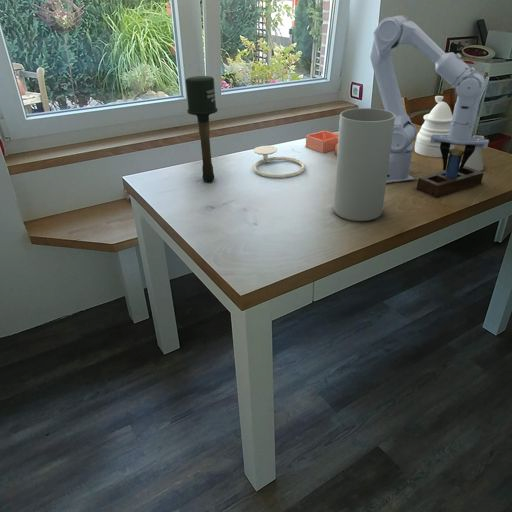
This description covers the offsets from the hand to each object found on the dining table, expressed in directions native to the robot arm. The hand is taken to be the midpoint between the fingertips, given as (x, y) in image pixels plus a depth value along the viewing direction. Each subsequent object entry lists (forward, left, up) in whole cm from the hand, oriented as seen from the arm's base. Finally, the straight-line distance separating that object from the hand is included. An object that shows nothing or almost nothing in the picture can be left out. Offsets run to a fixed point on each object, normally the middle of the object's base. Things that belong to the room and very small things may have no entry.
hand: (452, 169), depth 124 cm
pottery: (-20, +41, -5) cm, 46 cm away
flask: (+15, +11, -5) cm, 19 cm away
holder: (0, 0, -5) cm, 5 cm away
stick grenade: (-67, +25, -5) cm, 72 cm away
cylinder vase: (-32, -8, -5) cm, 33 cm away
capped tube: (0, 0, -3) cm, 3 cm away
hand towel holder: (-44, +30, -5) cm, 53 cm away
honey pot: (+13, +29, -5) cm, 32 cm away
